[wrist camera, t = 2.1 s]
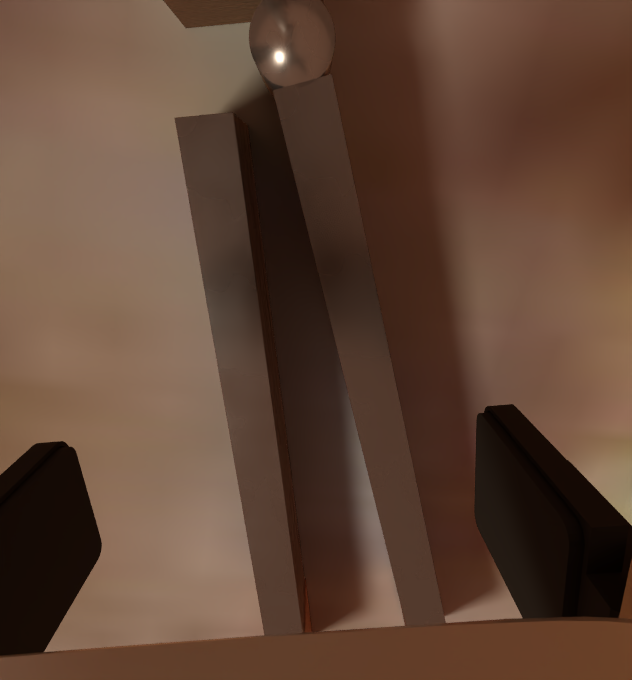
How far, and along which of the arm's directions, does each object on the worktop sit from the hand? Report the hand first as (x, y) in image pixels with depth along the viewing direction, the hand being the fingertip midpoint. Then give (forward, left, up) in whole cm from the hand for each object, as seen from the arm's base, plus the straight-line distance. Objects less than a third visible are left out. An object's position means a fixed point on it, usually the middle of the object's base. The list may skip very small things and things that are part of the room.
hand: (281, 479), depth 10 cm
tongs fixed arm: (+1, 0, -8) cm, 9 cm away
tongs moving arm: (+2, +3, -8) cm, 9 cm away
